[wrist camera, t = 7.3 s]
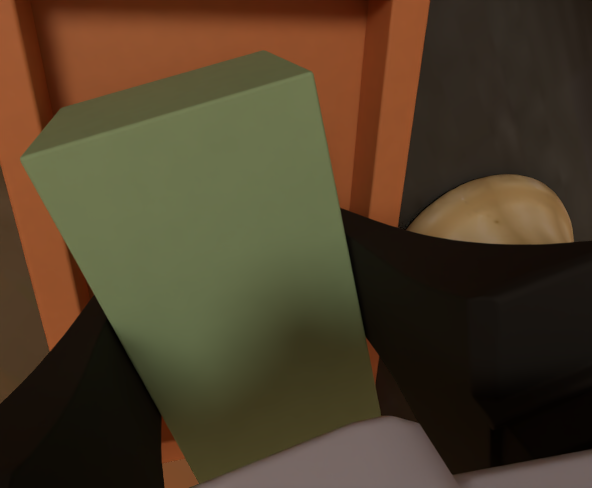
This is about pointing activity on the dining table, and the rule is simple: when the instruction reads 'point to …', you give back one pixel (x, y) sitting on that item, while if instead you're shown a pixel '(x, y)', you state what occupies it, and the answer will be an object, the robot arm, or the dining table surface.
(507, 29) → the dining table surface
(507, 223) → the hand bell
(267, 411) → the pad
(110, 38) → the orange shallow tray
